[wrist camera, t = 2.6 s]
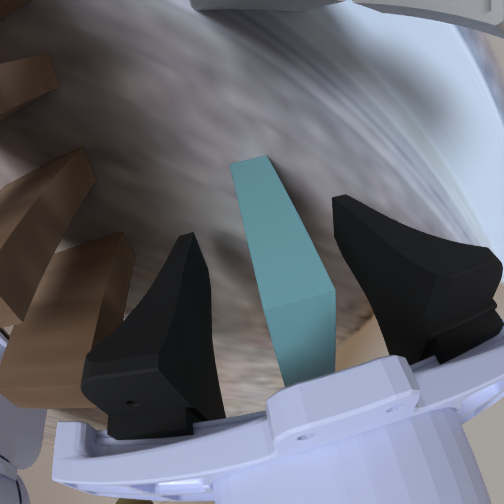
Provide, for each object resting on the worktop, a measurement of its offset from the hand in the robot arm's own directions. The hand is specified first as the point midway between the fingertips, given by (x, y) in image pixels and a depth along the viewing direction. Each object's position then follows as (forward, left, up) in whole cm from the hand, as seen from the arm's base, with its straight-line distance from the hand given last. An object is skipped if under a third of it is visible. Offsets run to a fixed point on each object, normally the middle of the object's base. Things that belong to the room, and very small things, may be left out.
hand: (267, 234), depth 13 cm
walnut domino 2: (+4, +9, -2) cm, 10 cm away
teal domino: (0, 0, -2) cm, 2 cm away
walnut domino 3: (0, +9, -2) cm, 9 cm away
